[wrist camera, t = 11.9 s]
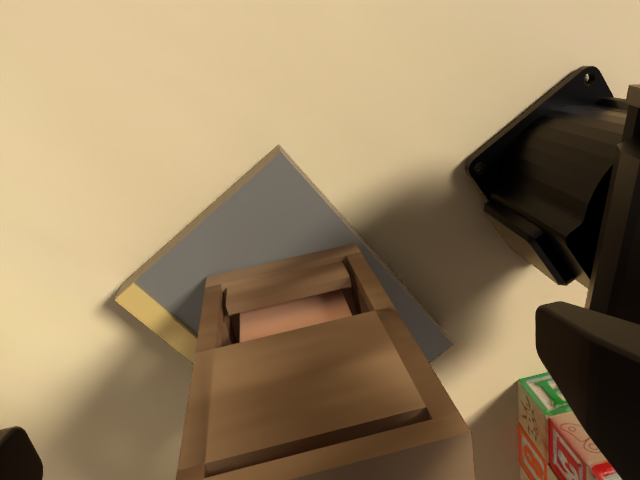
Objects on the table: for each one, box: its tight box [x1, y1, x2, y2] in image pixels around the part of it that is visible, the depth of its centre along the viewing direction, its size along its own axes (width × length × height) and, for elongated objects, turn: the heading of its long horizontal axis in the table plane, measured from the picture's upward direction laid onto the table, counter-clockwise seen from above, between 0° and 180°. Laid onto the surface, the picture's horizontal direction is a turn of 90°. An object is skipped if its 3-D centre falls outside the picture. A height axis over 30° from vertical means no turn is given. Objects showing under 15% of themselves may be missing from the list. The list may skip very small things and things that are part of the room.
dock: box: [114, 145, 453, 364], centre depth 22 cm, size 9×12×2 cm
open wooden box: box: [176, 243, 475, 480], centre depth 16 cm, size 6×6×11 cm
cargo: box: [240, 289, 352, 342], centre depth 18 cm, size 4×4×4 cm
